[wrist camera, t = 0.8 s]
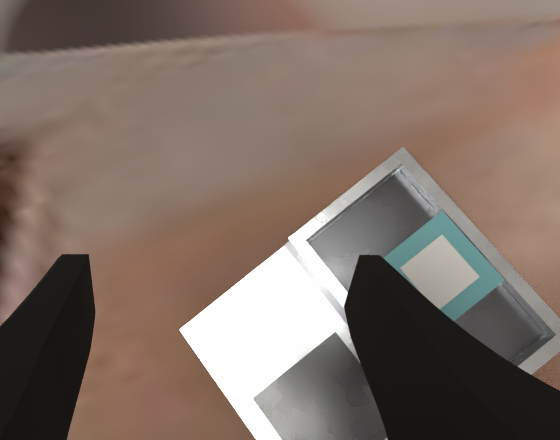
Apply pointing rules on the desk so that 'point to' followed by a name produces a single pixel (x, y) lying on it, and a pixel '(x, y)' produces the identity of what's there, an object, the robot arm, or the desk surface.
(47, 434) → the robot arm
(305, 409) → the lid
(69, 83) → the desk surface
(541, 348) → the case
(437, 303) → the block
